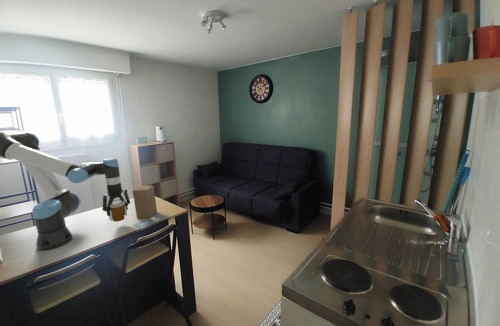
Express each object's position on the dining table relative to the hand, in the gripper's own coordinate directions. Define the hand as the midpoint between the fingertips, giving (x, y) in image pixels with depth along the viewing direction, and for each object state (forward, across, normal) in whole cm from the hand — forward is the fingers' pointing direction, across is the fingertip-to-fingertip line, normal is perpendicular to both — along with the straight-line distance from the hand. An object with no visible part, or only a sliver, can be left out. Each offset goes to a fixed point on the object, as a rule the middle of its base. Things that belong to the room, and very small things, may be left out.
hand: (118, 217), depth 139 cm
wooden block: (+5, +18, 0) cm, 19 cm away
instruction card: (+5, +14, -11) cm, 19 cm away
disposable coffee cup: (+2, 0, 0) cm, 2 cm away
